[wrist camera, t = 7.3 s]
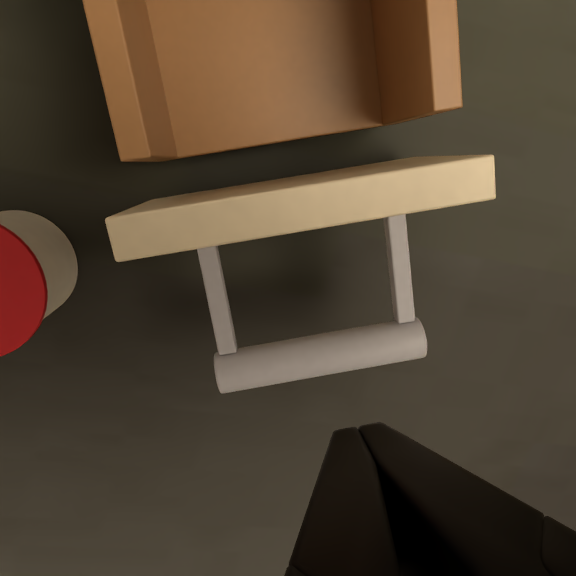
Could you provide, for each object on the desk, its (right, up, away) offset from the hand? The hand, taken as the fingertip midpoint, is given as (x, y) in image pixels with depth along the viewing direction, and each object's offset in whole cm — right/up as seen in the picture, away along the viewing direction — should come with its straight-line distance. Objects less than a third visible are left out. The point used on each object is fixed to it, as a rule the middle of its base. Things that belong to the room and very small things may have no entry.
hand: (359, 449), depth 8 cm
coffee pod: (-12, +4, +11) cm, 17 cm away
